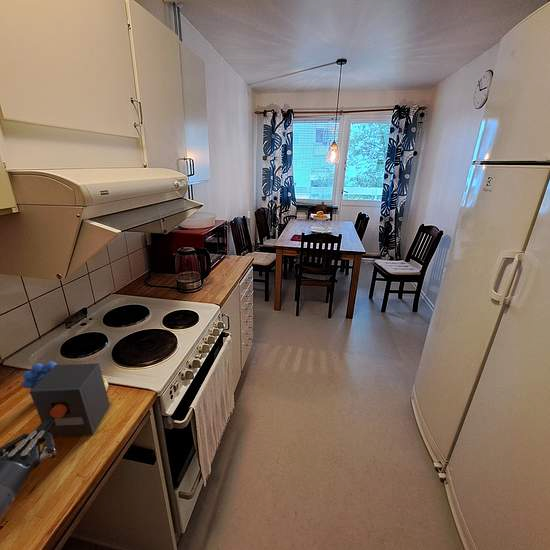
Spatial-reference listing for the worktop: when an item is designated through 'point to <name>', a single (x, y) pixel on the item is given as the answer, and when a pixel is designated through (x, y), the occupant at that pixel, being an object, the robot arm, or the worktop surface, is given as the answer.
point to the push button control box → (72, 398)
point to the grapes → (36, 374)
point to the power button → (58, 411)
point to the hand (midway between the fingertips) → (51, 420)
